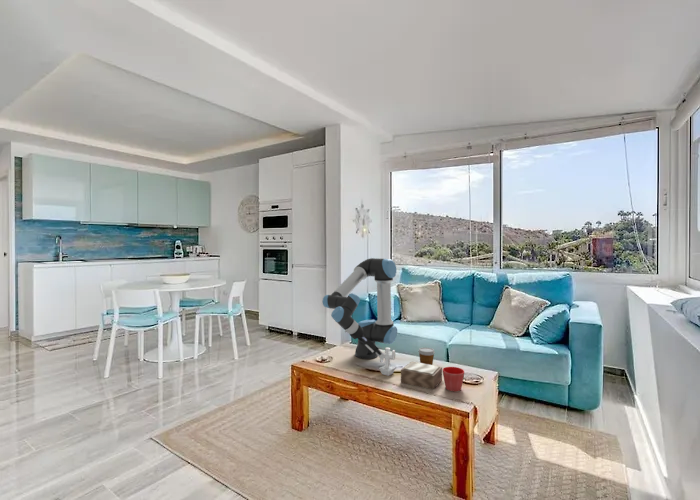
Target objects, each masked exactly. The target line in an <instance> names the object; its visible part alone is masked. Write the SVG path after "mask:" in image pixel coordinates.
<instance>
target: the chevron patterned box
mask: <svg viewBox="0 0 700 500" xmlns="http://www.w3.org/2000/svg"><path fill="white" fill-rule="evenodd" d="M442 381H443V367H442V366H440V365H434V364H433V365H429V364H424V363H420V362H417V361H410V362H409V363H407V364H406V365H405V366H404V367H402V368H401V369H400V383H403V384H407V385H412V386H415V387H416V386H417V387H421V388H426V389H430V390H435V389H436V387H437V386H438V385H439V384H440V383H441V382H442Z"/></svg>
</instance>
